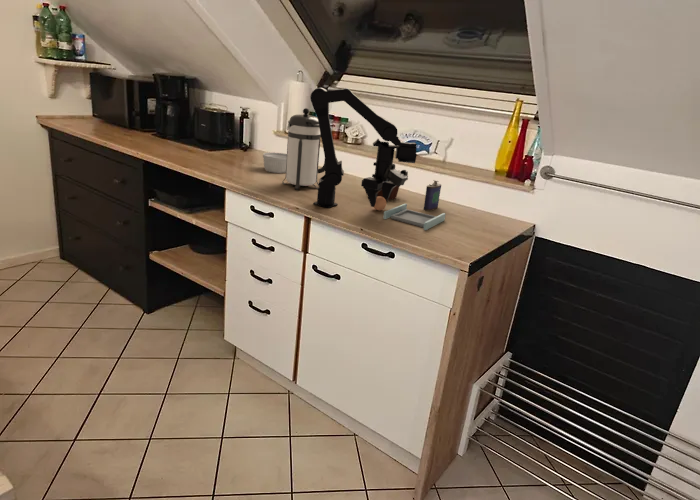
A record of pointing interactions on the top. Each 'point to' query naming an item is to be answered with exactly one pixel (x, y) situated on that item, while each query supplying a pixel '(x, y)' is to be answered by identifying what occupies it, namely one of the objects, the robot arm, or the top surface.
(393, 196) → the muffin
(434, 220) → the acrylic walls
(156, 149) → the top surface
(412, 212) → the dish
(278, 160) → the ramekin
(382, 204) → the ball
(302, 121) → the coffee press
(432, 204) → the flask
